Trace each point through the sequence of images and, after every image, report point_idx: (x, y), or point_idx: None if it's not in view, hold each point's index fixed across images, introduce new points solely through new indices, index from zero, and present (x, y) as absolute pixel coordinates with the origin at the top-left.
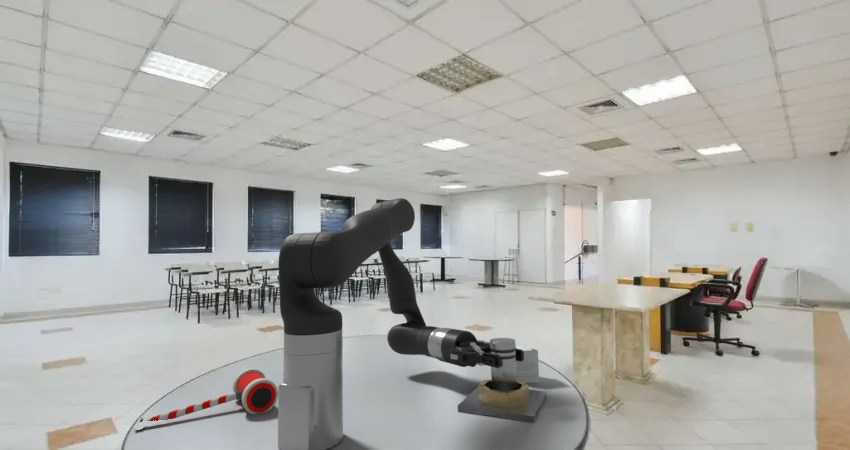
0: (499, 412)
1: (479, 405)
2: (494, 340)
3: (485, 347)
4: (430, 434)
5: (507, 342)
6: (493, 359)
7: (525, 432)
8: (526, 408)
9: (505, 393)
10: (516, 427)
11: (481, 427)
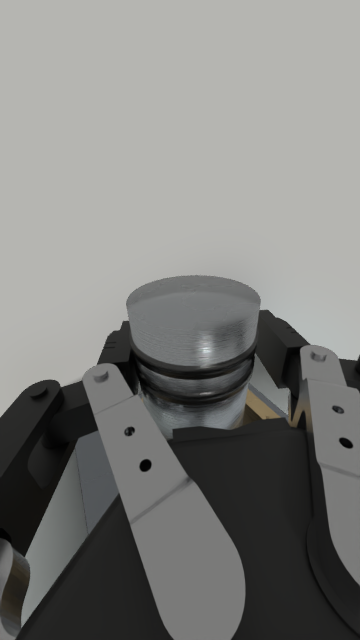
0: (268, 401)
1: None
2: (229, 304)
3: (220, 436)
4: None
5: (209, 276)
6: (281, 322)
7: (255, 356)
8: None
9: None
10: (258, 369)
11: None
